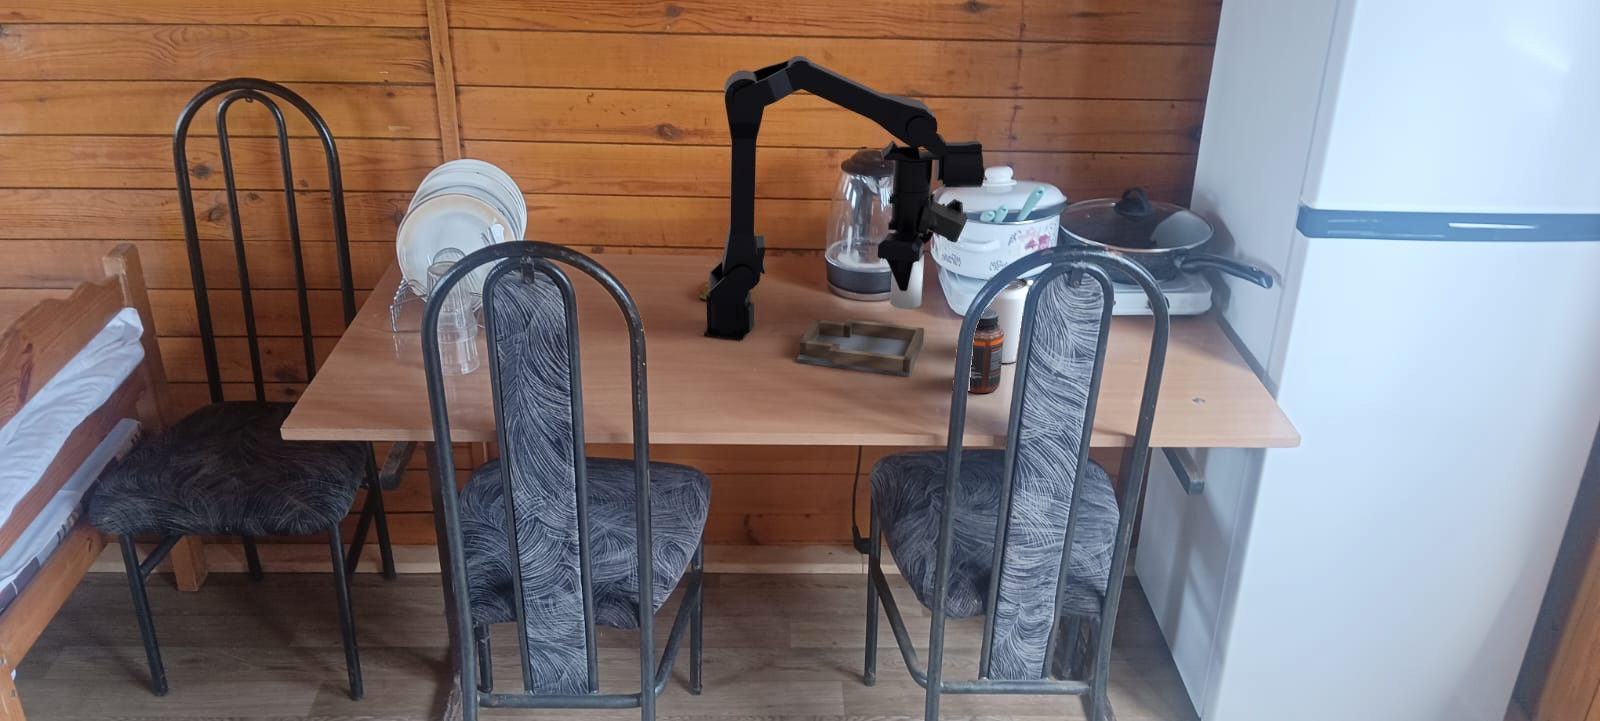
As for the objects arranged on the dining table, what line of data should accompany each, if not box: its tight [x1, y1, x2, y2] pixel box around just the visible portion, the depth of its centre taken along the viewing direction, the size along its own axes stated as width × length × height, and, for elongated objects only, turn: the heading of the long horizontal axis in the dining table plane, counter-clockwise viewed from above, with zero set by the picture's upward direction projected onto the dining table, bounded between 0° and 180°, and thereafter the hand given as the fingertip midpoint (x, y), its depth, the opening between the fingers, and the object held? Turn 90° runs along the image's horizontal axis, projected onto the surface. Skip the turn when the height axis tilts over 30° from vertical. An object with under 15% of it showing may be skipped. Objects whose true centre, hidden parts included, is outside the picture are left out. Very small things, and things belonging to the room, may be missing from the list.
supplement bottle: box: [969, 308, 1004, 394], centre depth 161 cm, size 6×6×11 cm
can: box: [987, 275, 1029, 365], centre depth 170 cm, size 6×6×12 cm
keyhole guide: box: [796, 318, 925, 377], centre depth 173 cm, size 17×12×3 cm
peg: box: [889, 253, 925, 310], centre depth 178 cm, size 5×5×8 cm
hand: (906, 284), depth 179 cm, fingers closed on peg, 5 cm apart
